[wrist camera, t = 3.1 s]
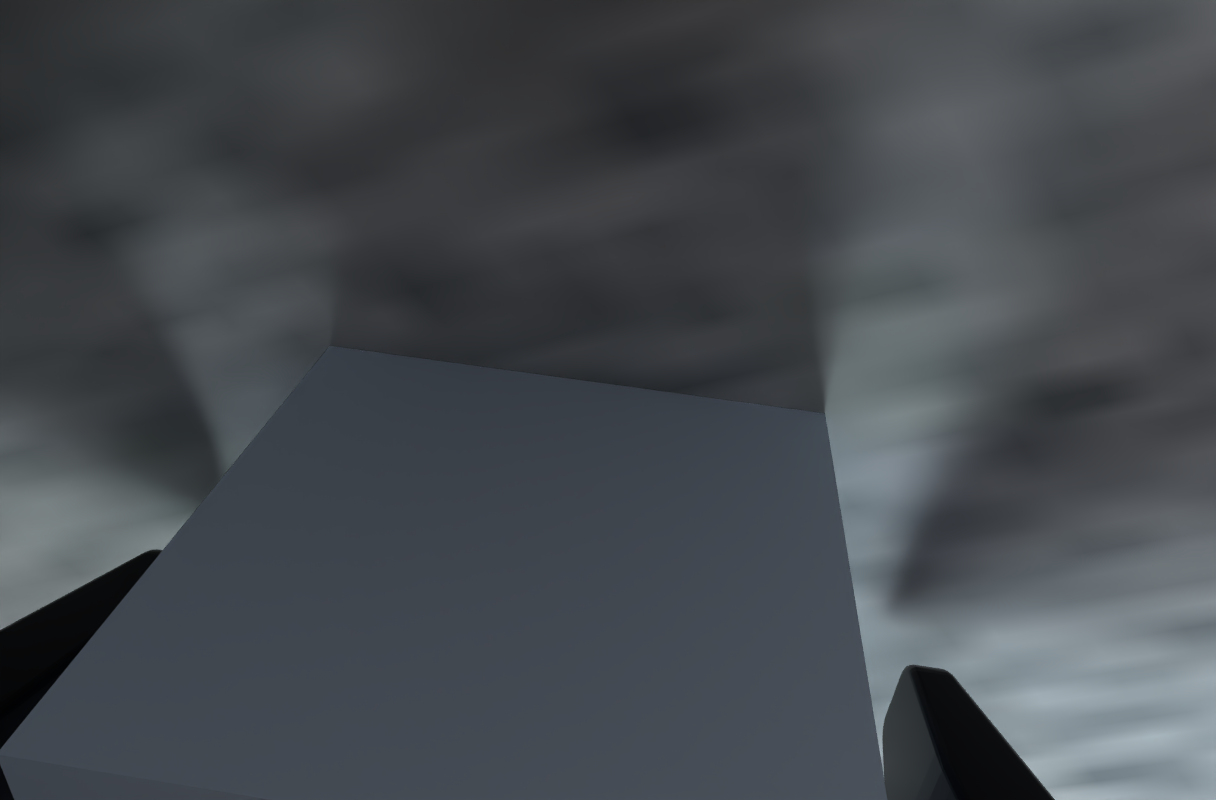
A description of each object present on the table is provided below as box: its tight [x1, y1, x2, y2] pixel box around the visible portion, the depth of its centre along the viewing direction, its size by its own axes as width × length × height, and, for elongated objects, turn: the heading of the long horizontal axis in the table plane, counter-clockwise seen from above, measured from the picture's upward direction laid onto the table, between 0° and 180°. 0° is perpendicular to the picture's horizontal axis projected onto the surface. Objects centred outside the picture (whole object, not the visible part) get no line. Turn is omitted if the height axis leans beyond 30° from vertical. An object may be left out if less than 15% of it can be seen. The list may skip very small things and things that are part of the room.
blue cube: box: [0, 346, 887, 800], centre depth 8 cm, size 5×5×5 cm
